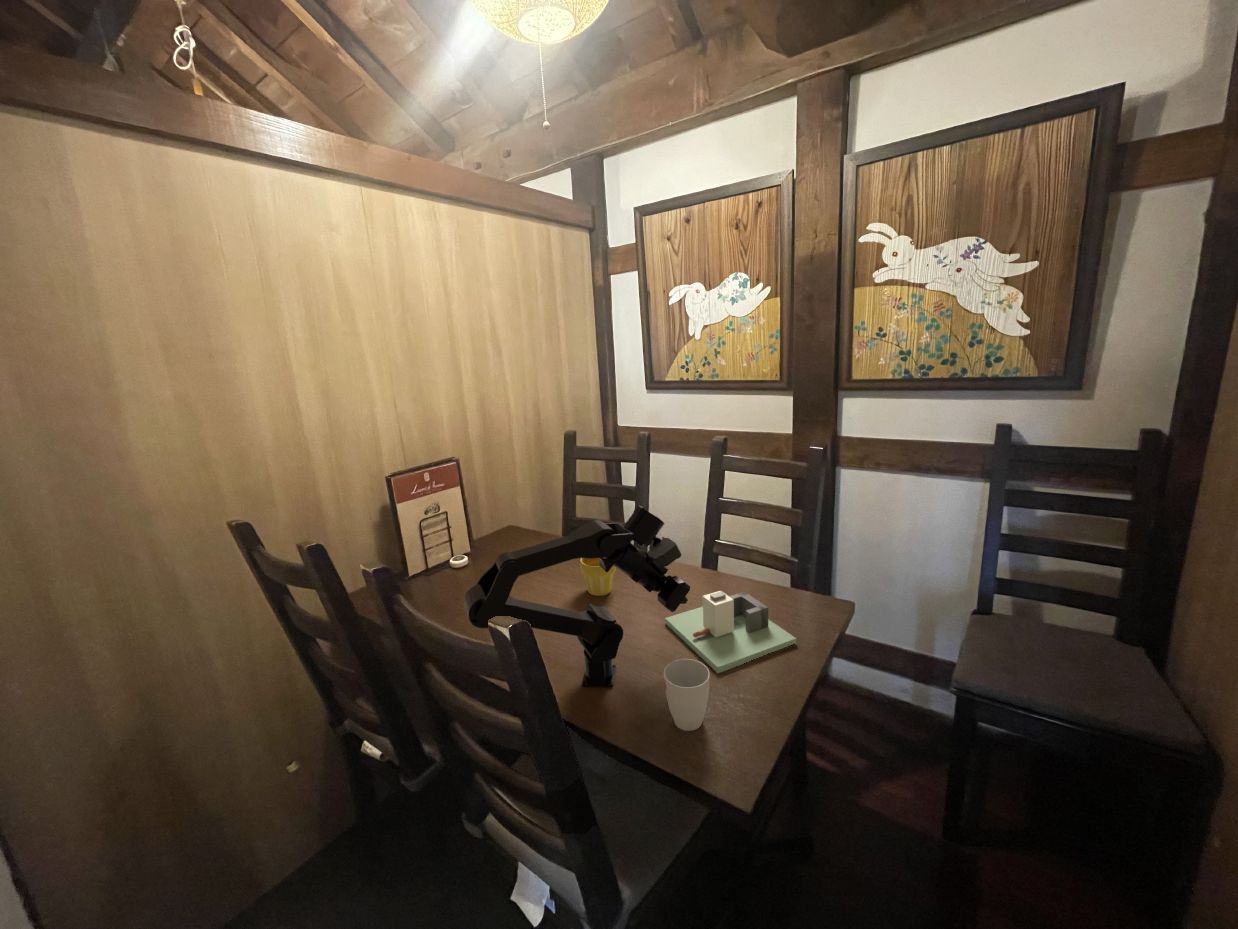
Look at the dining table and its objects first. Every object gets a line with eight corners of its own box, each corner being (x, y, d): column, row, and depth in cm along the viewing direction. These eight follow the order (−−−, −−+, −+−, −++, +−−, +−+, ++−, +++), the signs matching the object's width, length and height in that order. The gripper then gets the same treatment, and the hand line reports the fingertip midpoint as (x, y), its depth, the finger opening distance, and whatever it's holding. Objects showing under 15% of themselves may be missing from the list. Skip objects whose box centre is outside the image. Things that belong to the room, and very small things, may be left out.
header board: (717, 673, 103) (717, 663, 103) (665, 623, 123) (665, 615, 122) (796, 644, 111) (796, 635, 111) (735, 601, 131) (735, 593, 130)
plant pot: (625, 585, 143) (623, 554, 141) (606, 602, 135) (603, 569, 133) (595, 579, 149) (592, 548, 146) (575, 594, 140) (572, 562, 138)
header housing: (749, 633, 114) (749, 613, 113) (726, 615, 122) (726, 597, 121) (768, 626, 116) (768, 607, 115) (744, 610, 124) (744, 591, 123)
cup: (681, 699, 96) (679, 653, 94) (718, 716, 91) (717, 668, 89) (657, 724, 90) (654, 676, 88) (696, 744, 85) (694, 694, 83)
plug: (699, 643, 111) (698, 607, 109) (687, 632, 115) (686, 597, 113) (733, 631, 114) (733, 596, 112) (721, 621, 119) (720, 587, 117)
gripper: (680, 545, 95) (728, 584, 102) (636, 518, 112) (680, 553, 119) (645, 593, 94) (696, 629, 101) (606, 558, 111) (653, 591, 117)
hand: (681, 597), depth 109 cm, fingers open, 4 cm apart
